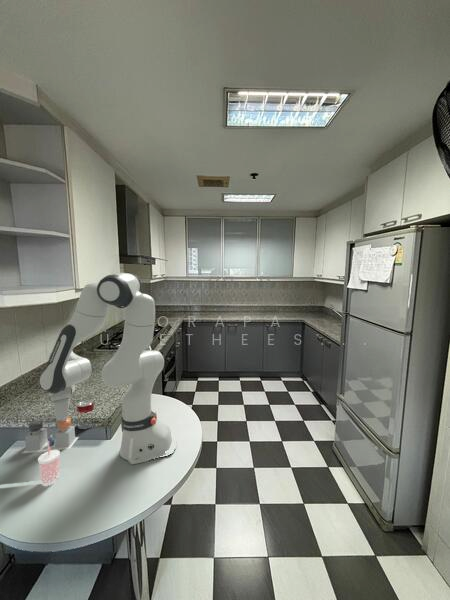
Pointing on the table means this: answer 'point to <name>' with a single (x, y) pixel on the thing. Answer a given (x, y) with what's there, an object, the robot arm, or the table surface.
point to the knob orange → (64, 425)
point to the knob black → (35, 426)
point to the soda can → (85, 406)
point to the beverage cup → (49, 466)
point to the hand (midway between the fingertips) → (64, 420)
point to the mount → (40, 440)
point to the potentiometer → (51, 441)
